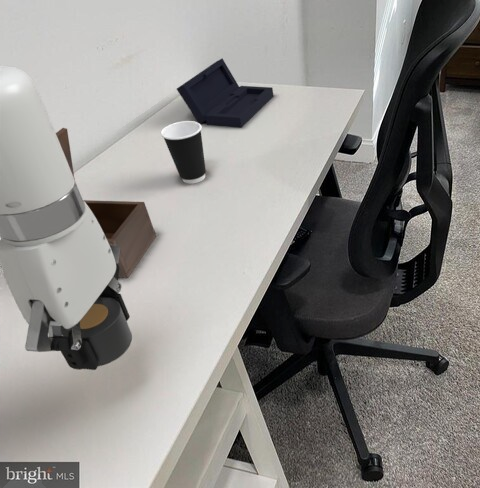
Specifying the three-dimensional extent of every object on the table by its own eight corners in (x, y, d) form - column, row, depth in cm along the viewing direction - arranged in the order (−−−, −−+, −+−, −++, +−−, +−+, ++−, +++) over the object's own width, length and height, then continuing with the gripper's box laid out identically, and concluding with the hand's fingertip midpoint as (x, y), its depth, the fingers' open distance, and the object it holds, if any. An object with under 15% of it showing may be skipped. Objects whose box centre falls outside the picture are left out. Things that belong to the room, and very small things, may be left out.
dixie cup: (167, 182, 101) (151, 133, 94) (193, 165, 106) (181, 118, 99) (194, 191, 97) (181, 141, 90) (220, 173, 102) (209, 124, 95)
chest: (156, 236, 86) (144, 201, 81) (127, 277, 77) (112, 242, 73) (91, 233, 88) (76, 199, 83) (56, 274, 79) (37, 239, 75)
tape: (89, 377, 52) (73, 348, 49) (64, 347, 55) (48, 318, 53) (142, 342, 55) (131, 313, 52) (115, 316, 59) (103, 288, 56)
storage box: (241, 127, 120) (234, 87, 114) (185, 122, 124) (175, 84, 118) (273, 96, 135) (268, 59, 129) (222, 93, 140) (215, 57, 134)
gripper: (56, 164, 52) (109, 288, 62) (-72, 267, 38) (24, 403, 49) (121, 166, 51) (163, 292, 61) (14, 272, 37) (92, 411, 48)
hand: (101, 340), depth 55 cm, fingers closed on tape, 6 cm apart
